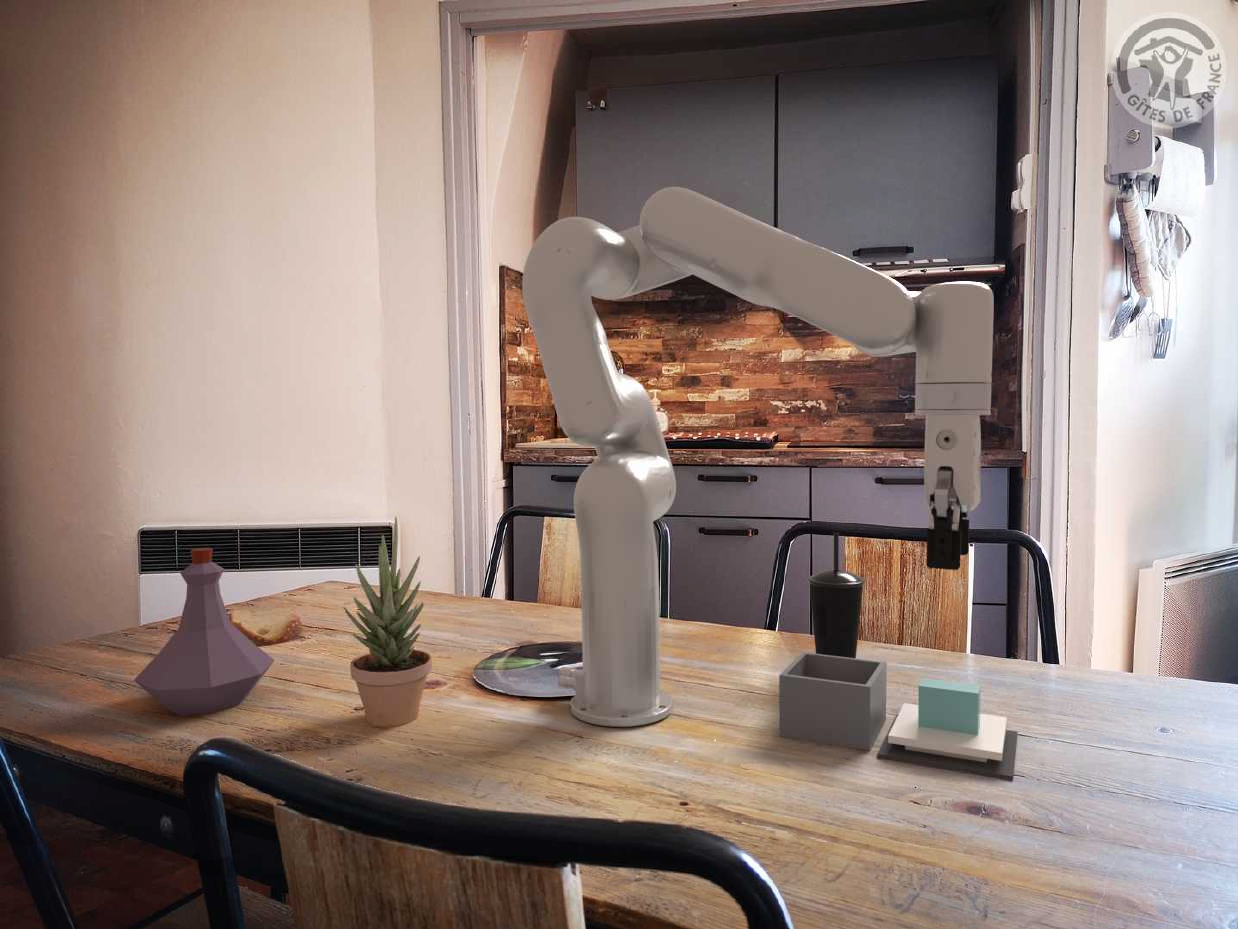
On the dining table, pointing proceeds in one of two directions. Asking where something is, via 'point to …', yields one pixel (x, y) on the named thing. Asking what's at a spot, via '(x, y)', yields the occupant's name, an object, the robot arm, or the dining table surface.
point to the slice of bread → (266, 626)
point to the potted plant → (389, 647)
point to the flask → (204, 651)
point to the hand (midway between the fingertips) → (948, 560)
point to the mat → (988, 768)
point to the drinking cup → (836, 609)
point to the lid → (949, 723)
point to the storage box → (833, 700)
